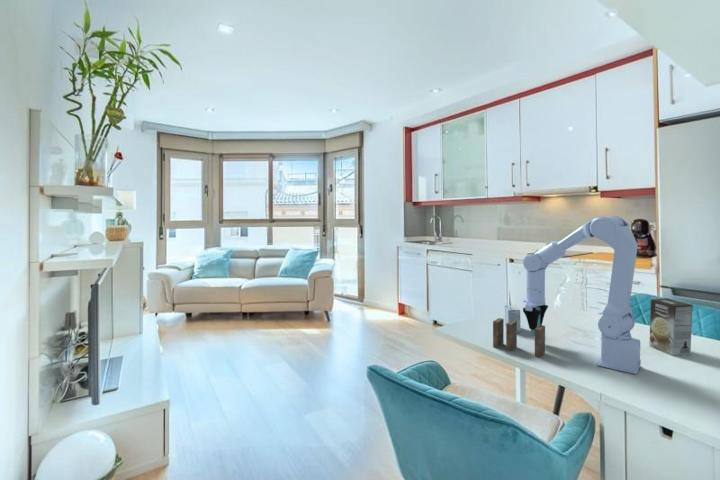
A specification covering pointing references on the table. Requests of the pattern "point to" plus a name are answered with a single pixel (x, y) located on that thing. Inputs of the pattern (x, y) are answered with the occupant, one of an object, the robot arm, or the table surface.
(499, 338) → the end domino
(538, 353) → the domino
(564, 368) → the table surface
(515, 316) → the medicine box
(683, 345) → the coffee box
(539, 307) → the domino
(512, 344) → the domino
